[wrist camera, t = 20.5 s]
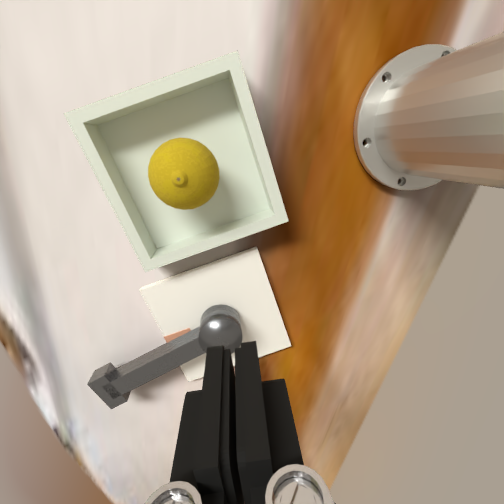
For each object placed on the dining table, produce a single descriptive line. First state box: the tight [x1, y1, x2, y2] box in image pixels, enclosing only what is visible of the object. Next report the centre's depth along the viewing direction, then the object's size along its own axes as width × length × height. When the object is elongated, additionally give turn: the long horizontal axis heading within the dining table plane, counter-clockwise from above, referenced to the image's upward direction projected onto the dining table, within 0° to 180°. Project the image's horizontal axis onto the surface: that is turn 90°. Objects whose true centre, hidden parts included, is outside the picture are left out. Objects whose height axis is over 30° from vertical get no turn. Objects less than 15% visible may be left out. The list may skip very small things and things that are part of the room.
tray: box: [64, 51, 288, 272], centre depth 26 cm, size 14×14×4 cm
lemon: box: [148, 138, 220, 210], centre depth 24 cm, size 6×6×8 cm
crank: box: [87, 304, 243, 409], centre depth 32 cm, size 17×4×3 cm, turn 117°
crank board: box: [139, 246, 291, 382], centre depth 33 cm, size 13×13×1 cm
